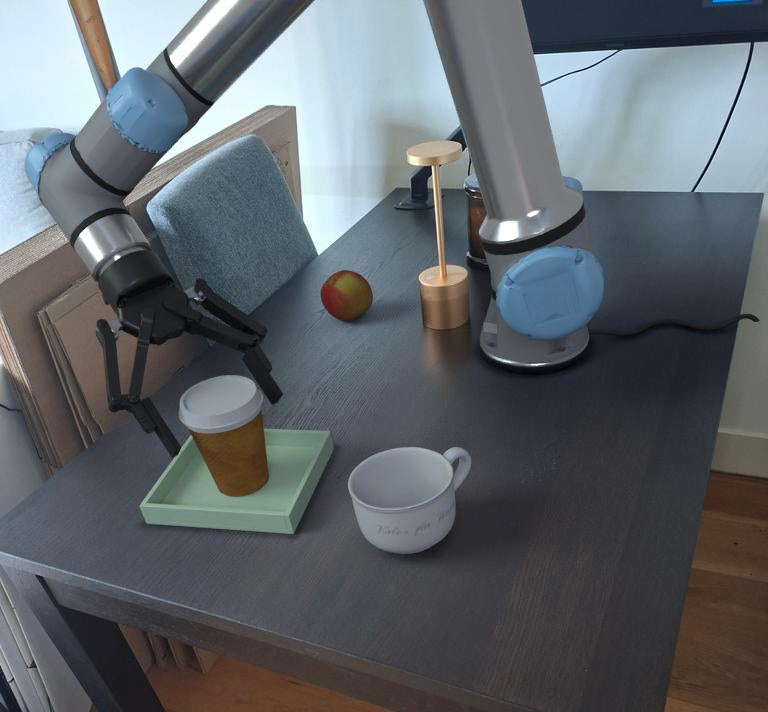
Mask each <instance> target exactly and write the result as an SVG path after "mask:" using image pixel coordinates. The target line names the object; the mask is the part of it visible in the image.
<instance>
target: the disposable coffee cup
mask: <svg viewBox="0 0 768 712" xmlns="http://www.w3.org/2000/svg"><path fill="white" fill-rule="evenodd" d="M263 403H264V393H263V391H262V390H260V389H259V387H257V385H256V383H255V382H254V381H253V380H252V379H250V378H249V377H248V376H247V377H246V376H242V375H237V374H236V375H235V374H233V375H232V374H231V375H230V374H228V375H227V374H226V375H218V376H214V377H210V378H208V379H204V380H201V381H199V382H198V383H195V384H193V385H192V386H190V387H189V388H188V389H187V390H185V391H184V392H183V394H182V395H181V396H180V399H179V408H178V412H177V413H178V418H179V421H180V422H181V424H183V425H184V426H185V427H186V428H187V430H188V431H189V433H190V435H192V437H193V439H194V441H195V443H196V445H197V447H198V449H199V451H200V453H201V455H202V457H203V459H204V461H205V464H206V465H207V467H208V469H209V471H210V473H211V476H212V477H213V479H214V481H215V484H216V485H217V488H218V490H219V491H220V492H221V493H222V494H224V495H227V496H231V497H240V496H246V495H249V494H252V493H254V492H256V491H258V490H260V489H261V488H262V487H263V486H265V484H266V483H267V481H268V479H269V473H268V464H267V455H266V446H265V437H264V429H265V428H264V420H263V411H262V410H263V409H262V408H263Z"/></svg>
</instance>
